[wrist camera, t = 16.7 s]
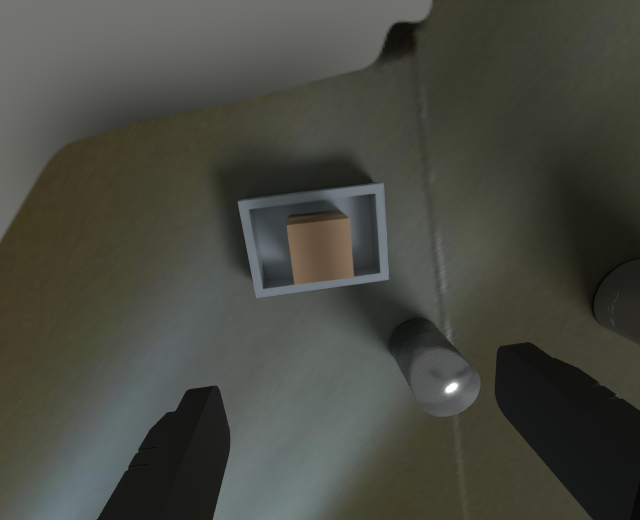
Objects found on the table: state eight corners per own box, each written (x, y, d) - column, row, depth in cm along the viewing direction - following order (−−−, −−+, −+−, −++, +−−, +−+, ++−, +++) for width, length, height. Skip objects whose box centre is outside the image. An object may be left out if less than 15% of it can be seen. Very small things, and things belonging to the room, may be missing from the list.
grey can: (440, 315, 34) (481, 356, 26) (440, 360, 36) (479, 411, 28) (388, 322, 34) (415, 366, 26) (391, 367, 36) (416, 420, 28)
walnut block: (339, 209, 29) (349, 218, 24) (343, 258, 31) (353, 277, 25) (288, 215, 29) (286, 225, 23) (295, 264, 31) (294, 284, 25)
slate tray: (375, 182, 29) (383, 183, 27) (380, 270, 32) (389, 279, 29) (243, 198, 29) (237, 201, 26) (259, 286, 32) (256, 297, 29)
